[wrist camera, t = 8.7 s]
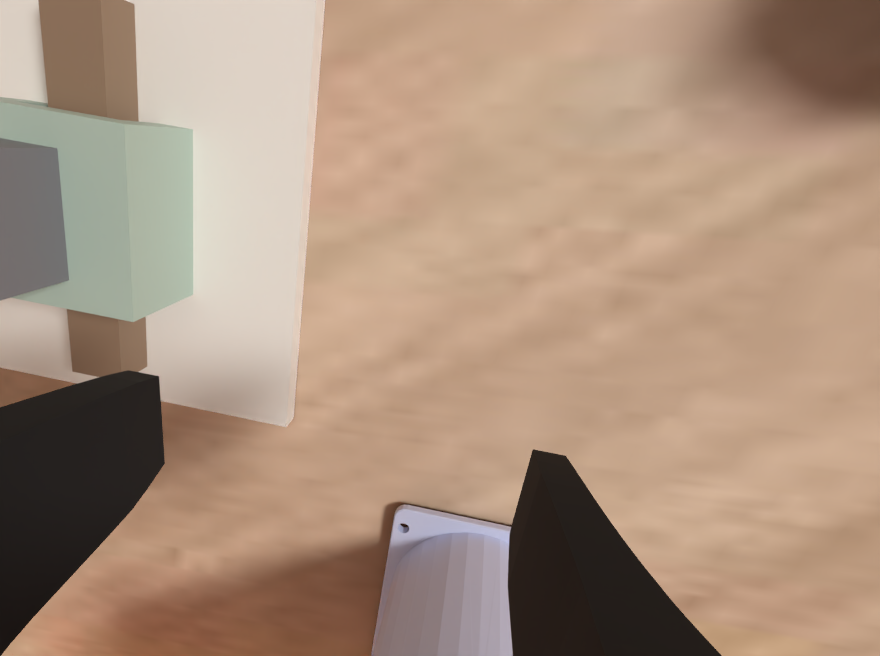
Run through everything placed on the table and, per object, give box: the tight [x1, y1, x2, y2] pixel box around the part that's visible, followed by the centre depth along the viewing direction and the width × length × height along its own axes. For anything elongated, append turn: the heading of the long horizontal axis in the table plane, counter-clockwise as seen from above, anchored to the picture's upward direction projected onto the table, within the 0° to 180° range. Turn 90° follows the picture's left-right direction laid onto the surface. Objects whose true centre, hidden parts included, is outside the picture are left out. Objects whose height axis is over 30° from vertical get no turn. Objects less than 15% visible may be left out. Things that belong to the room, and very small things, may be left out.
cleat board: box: [0, 0, 325, 427], centre depth 18 cm, size 16×14×2 cm
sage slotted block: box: [0, 97, 193, 322], centre depth 16 cm, size 6×6×6 cm
